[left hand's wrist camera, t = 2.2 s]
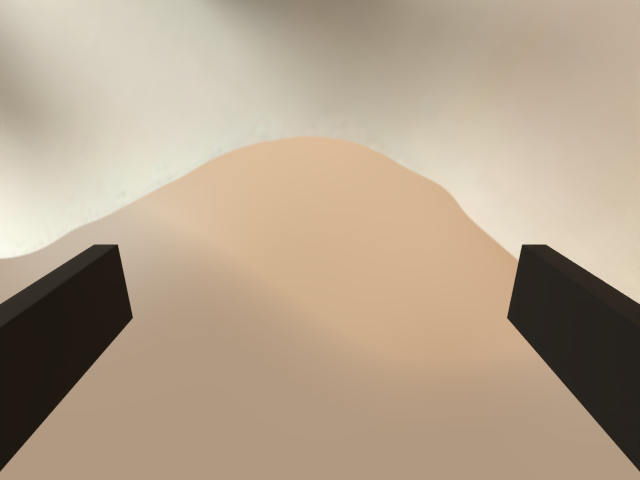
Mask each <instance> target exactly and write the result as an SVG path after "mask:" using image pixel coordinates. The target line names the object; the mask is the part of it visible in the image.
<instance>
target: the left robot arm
mask: <svg viewBox="0 0 640 480" xmlns="http://www.w3.org/2000/svg"><path fill="white" fill-rule="evenodd" d="M132 318H133V316H132V311H131V306H130V302H129V297H128V292H127V287H126V282H125V277H124V273H123V268H122V263H121V258H120V253H119V248H118V245H93V246H91V247H90V248H88V249H86V250H85V251H83V252H82V253H80V254H79V255H77V256H75V257H74V258H72V259H71V260H69V261H68V262H66V263H64V264H63V265H61V266H60V267H58V268H57V269H55V270H53V271H52V272H50V273H49V274H47V275H46V276H44V277H42V278H41V279H39V280H38V281H36V282H35V283H33V284H31V285H30V286H28V287H27V288H25V289H24V290H22V291H20V292H19V293H17V294H16V295H14V296H12V297H11V298H9V299H8V300H6V301H5V302H3V303H2V304H0V471H1V470H2V469H3V468H4V467H5V465H6V464H7V463H8V462H9V461H10V460H11V458H12V457H13V456H14V455H15V454H16V453H17V451H18V450H19V449H20V448H21V447H22V446H23V445H24V443H25V442H26V441H27V440H28V439H29V438H30V436H31V435H32V434H33V433H34V432H35V431H36V429H37V428H38V427H39V426H40V425H41V424H42V422H43V421H44V420H45V419H46V418H47V417H48V415H49V414H50V413H51V412H52V411H53V410H54V409H55V407H56V406H57V405H58V404H59V403H60V402H61V401H62V399H63V398H64V397H65V396H66V395H67V394H68V392H69V391H70V390H71V389H72V388H73V387H74V385H75V384H76V383H77V382H78V381H79V380H80V379H81V377H82V376H83V375H84V374H85V373H86V372H87V370H88V369H89V368H90V367H91V366H92V365H93V363H94V362H95V361H96V360H97V359H98V358H99V356H100V355H101V354H102V353H103V352H104V351H105V349H106V348H107V347H108V346H109V345H110V344H111V343H112V341H113V340H114V339H115V338H116V337H117V336H118V334H119V333H120V332H121V331H122V330H123V329H124V328H125V326H126V325H127V324H128V323H129V322H130V321H131V319H132ZM507 318H508V319H509V321H510V322H511V323H512V324H513V325H514V326H515V328H516V329H517V330H518V331H519V332H520V333H521V334H522V336H523V337H524V338H525V339H526V340H527V341H528V343H529V344H530V345H531V346H532V347H533V348H534V350H535V351H536V352H537V353H538V354H539V355H540V357H541V358H542V359H543V360H544V361H545V362H546V363H547V365H548V366H549V367H550V368H551V369H552V370H553V372H554V373H555V374H556V375H557V376H558V377H559V378H560V380H561V381H562V382H563V383H564V384H565V385H566V387H567V388H568V389H569V390H570V391H571V392H572V394H573V395H574V396H575V397H576V398H577V399H578V401H579V402H580V403H581V404H582V405H583V406H584V407H585V409H586V410H587V411H588V412H589V413H590V414H591V416H592V417H593V418H594V419H595V420H596V421H597V422H598V424H599V425H600V426H601V427H602V428H603V429H604V431H605V432H606V433H607V434H608V435H609V436H610V438H611V439H612V440H613V441H614V442H615V443H616V445H617V446H618V447H619V448H620V449H621V450H622V451H623V453H624V454H625V455H626V456H627V457H628V458H629V460H630V461H631V462H632V463H633V464H634V465H635V467H636V468H637V469H638V470H639V471H640V304H639V303H637V302H635V301H634V300H632V299H631V298H629V297H628V296H626V295H624V294H623V293H621V292H620V291H618V290H616V289H615V288H613V287H612V286H610V285H609V284H607V283H605V282H604V281H602V280H601V279H599V278H598V277H596V276H594V275H593V274H591V273H590V272H588V271H587V270H585V269H583V268H582V267H580V266H579V265H577V264H576V263H574V262H572V261H571V260H569V259H568V258H566V257H565V256H563V255H561V254H560V253H558V252H557V251H555V250H554V249H552V248H550V247H549V246H547V245H522V248H521V253H520V258H519V263H518V268H517V273H516V277H515V282H514V287H513V292H512V297H511V302H510V306H509V311H508V316H507Z"/></svg>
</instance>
